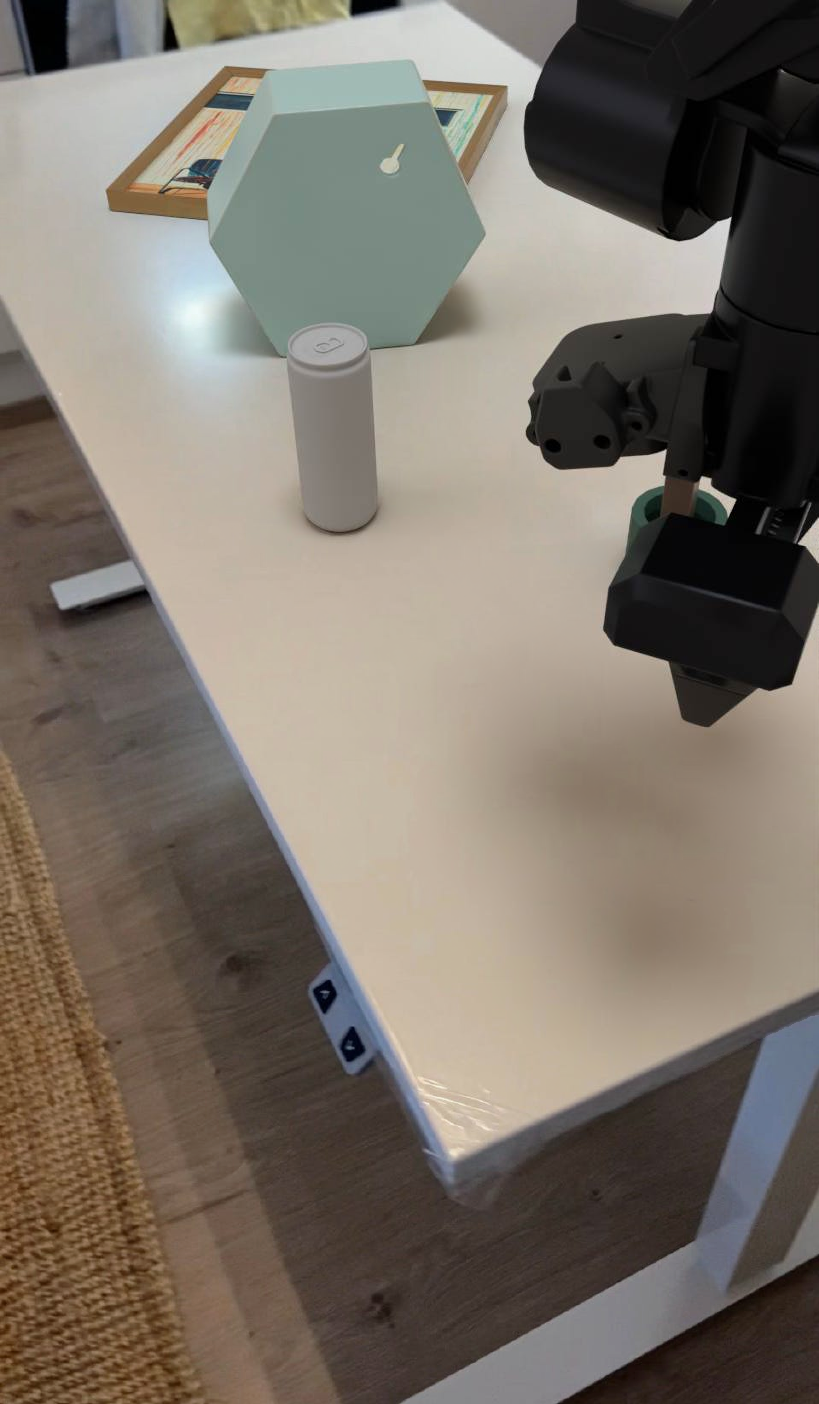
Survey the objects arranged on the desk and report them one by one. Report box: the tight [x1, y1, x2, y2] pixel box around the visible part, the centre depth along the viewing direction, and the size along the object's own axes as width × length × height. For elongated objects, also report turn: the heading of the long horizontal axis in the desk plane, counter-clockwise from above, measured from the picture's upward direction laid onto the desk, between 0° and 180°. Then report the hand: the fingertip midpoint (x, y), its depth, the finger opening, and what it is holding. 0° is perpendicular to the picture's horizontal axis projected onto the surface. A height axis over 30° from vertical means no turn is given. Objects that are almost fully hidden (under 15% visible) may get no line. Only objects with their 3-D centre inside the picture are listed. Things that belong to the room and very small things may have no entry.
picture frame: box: [105, 65, 509, 221], centre depth 113 cm, size 30×2×30 cm
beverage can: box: [286, 323, 379, 533], centre depth 72 cm, size 5×5×12 cm
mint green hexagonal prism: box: [206, 59, 487, 358], centre depth 86 cm, size 17×8×21 cm
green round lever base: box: [624, 485, 729, 556], centre depth 70 cm, size 5×6×4 cm
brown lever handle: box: [660, 476, 701, 518], centre depth 65 cm, size 2×2×13 cm
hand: (727, 645), depth 49 cm, fingers open, 9 cm apart
